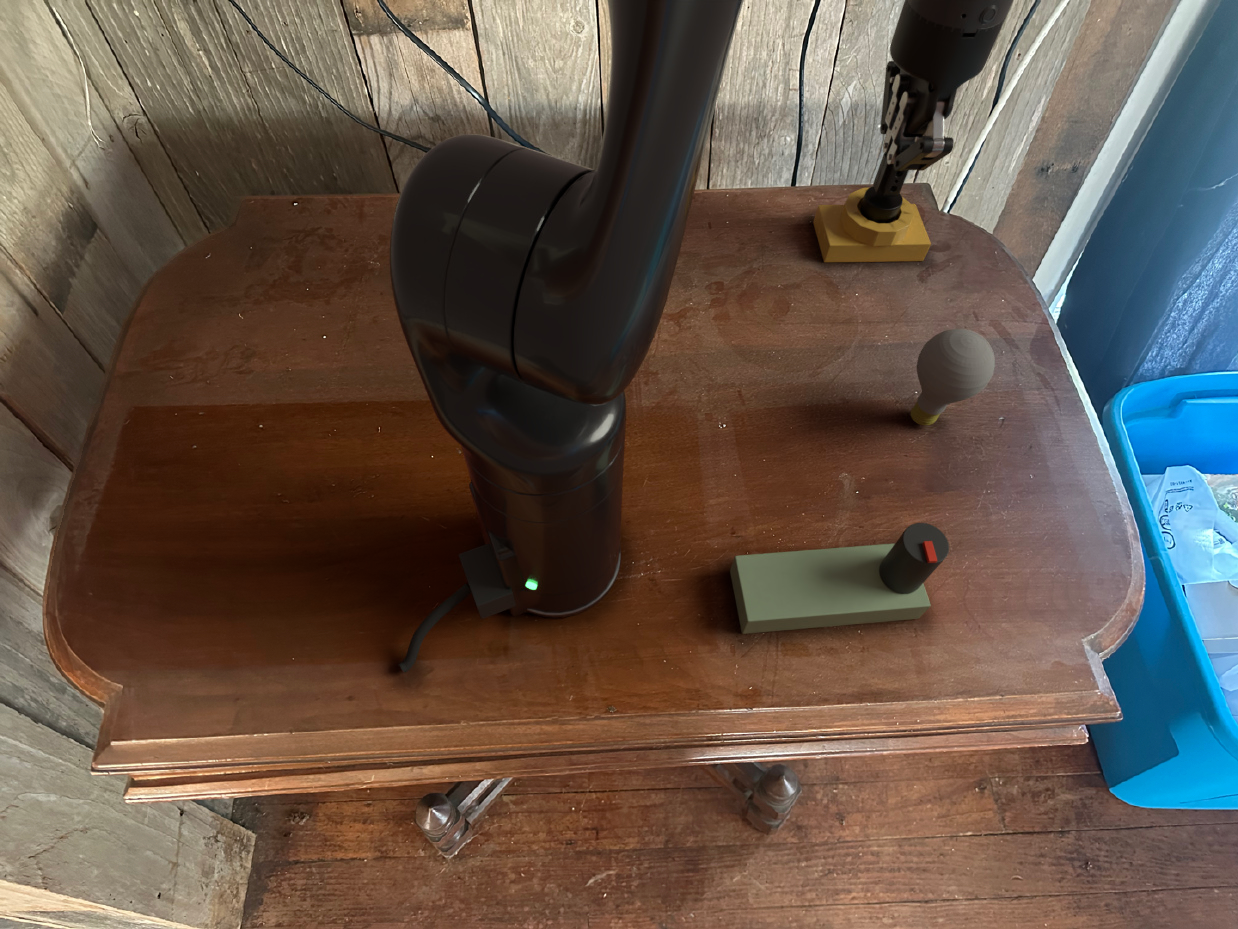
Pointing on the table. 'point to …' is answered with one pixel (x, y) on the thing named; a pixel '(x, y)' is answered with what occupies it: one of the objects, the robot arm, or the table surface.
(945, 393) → the light bulb
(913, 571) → the dimmer knob
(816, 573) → the dimmer panel
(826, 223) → the switch box
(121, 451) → the table surface
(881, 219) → the button
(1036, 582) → the table surface
